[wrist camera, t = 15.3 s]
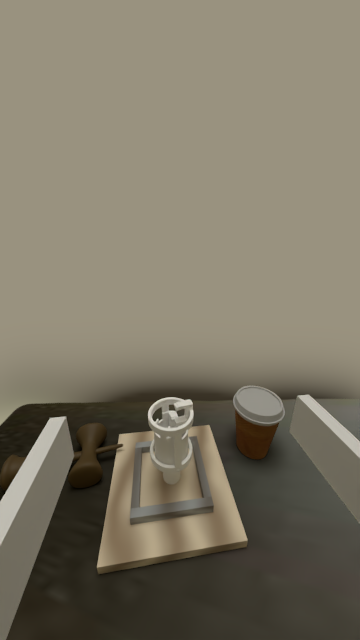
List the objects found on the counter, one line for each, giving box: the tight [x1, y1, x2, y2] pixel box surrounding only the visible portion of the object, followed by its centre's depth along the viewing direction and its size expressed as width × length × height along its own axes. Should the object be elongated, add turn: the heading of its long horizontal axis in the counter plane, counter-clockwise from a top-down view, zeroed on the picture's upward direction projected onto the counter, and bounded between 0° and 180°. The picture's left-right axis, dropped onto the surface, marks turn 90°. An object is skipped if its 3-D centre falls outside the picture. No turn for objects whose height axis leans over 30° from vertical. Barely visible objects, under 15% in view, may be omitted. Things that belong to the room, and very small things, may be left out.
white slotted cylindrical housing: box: [148, 397, 193, 485], centre depth 34 cm, size 7×7×15 cm
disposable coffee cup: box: [233, 386, 285, 459], centre depth 42 cm, size 10×10×12 cm
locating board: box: [97, 425, 248, 574], centre depth 37 cm, size 20×20×3 cm
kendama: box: [0, 423, 123, 491], centre depth 39 cm, size 6×10×20 cm
